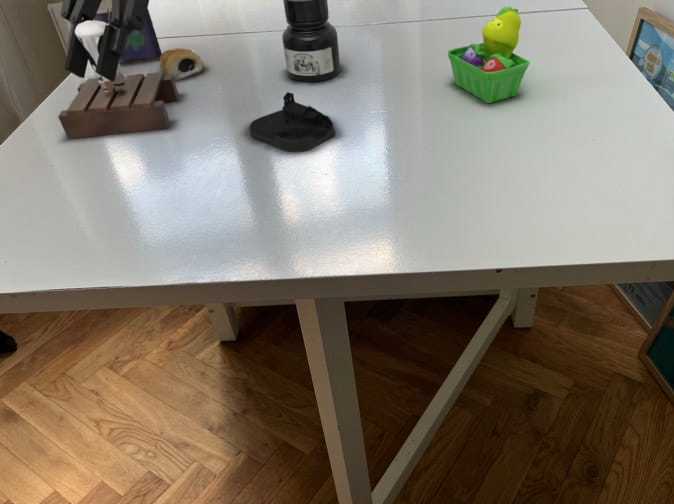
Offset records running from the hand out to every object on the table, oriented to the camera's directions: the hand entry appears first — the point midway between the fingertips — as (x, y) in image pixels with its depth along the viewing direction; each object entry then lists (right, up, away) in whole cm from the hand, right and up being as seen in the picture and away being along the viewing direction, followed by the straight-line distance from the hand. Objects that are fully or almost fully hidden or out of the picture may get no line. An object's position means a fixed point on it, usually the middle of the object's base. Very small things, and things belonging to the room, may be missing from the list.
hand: (89, 74), depth 76 cm
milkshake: (+1, 0, +5) cm, 5 cm away
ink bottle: (+29, +7, +17) cm, 34 cm away
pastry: (+5, +8, +21) cm, 23 cm away
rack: (+2, -3, +8) cm, 8 cm away
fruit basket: (+56, +1, +9) cm, 57 cm away
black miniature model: (+28, -7, +2) cm, 29 cm away
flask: (-5, +12, +26) cm, 29 cm away
